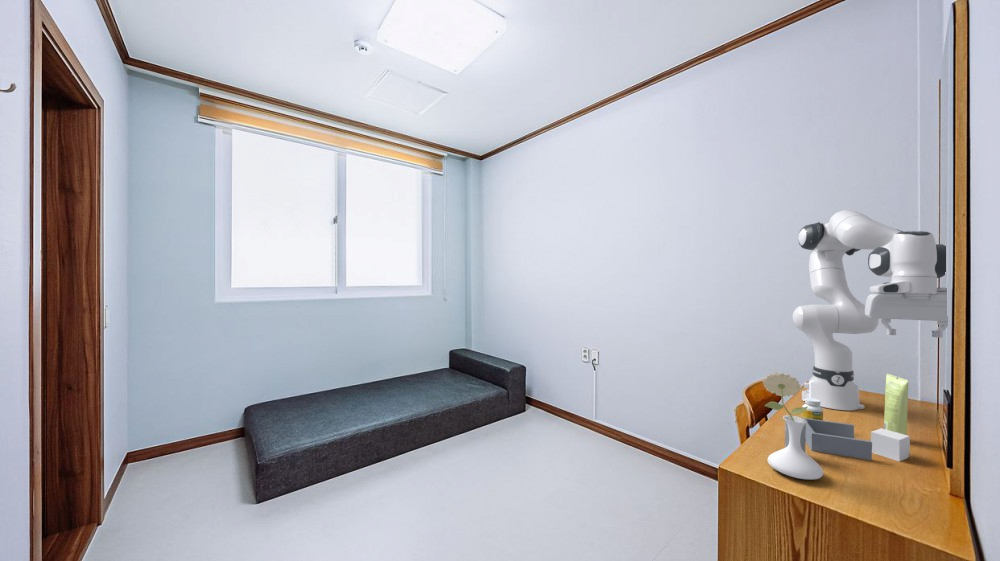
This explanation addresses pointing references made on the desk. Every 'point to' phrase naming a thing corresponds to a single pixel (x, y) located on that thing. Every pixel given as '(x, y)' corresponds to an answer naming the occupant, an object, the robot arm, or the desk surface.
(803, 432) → the grey hollow cylinder
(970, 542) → the desk surface
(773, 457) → the flower in vase
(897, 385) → the tube
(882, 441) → the white cube
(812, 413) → the supplement bottle
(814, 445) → the box
